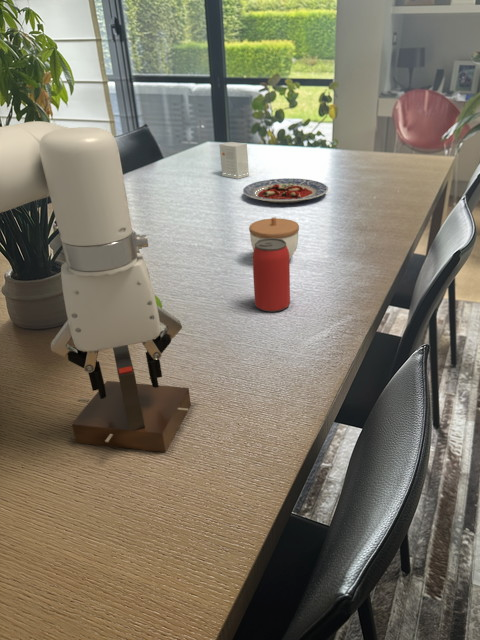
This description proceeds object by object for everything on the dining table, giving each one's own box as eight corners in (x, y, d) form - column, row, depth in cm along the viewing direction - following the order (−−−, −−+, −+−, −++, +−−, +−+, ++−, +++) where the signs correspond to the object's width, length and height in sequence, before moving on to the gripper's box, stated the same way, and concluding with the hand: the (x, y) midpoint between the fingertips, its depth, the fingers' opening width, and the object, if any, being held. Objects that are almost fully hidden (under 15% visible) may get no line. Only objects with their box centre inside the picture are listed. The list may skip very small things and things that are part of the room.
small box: (249, 176, 190) (247, 143, 185) (237, 179, 187) (235, 146, 181) (233, 173, 195) (230, 141, 189) (221, 176, 191) (219, 143, 186)
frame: (121, 384, 76) (109, 331, 71) (134, 381, 76) (123, 329, 72) (130, 431, 67) (117, 374, 62) (145, 427, 67) (134, 370, 63)
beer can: (253, 299, 105) (250, 238, 99) (287, 296, 106) (286, 236, 99) (256, 314, 100) (253, 250, 93) (292, 311, 100) (291, 248, 94)
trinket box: (303, 266, 119) (303, 223, 114) (254, 270, 117) (251, 227, 112) (294, 249, 127) (293, 209, 122) (248, 253, 126) (246, 212, 121)
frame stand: (54, 454, 68) (48, 434, 66) (108, 387, 81) (104, 368, 79) (170, 468, 66) (167, 447, 64) (207, 395, 78) (205, 377, 76)
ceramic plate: (314, 210, 153) (315, 200, 152) (230, 204, 161) (229, 194, 159) (337, 187, 174) (337, 178, 172) (260, 183, 181) (260, 174, 180)
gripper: (172, 231, 66) (189, 360, 75) (18, 251, 61) (57, 386, 71) (184, 251, 60) (201, 389, 69) (14, 275, 55) (58, 419, 65)
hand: (128, 386), depth 70 cm, fingers open, 5 cm apart
